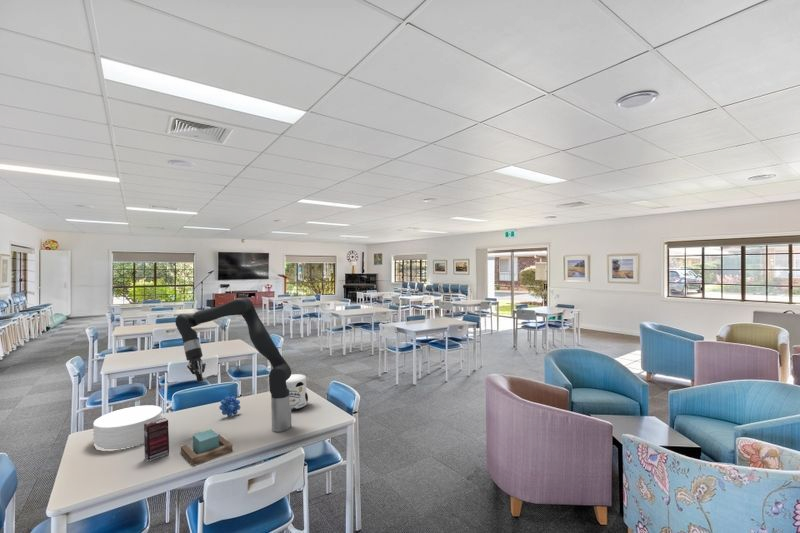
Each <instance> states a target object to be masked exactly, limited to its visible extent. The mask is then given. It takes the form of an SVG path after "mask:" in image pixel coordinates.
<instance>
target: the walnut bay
mask: <svg viewBox="0 0 800 533" xmlns="http://www.w3.org/2000/svg"><path fill="white" fill-rule="evenodd" d="M217 435H219V447H217V448H214V449H212V450H209V451H206V452H203V453H200V454H197V455H196V453H195V452H194V451H193V448H191V447H190V445H188V444H183V445H181V446H180V454H181V455H182V456H183V457H184V459H186V461H187V462H188V463H189V462H190V463H191V464H190V463H189V464H190V465H191V466H192V465H193V466H196V465H199V464H200V463H204V462H207V461H209V460H213V459H215V458H218V457H220V456H224V455H227V454H229V453H231V452H233V444H232V443H231V442H230V441H229V440H227V439H226V438H225V437H223V436H222V435H221V434H219V433H217ZM195 464H196V465H195Z"/></svg>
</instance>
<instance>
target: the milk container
mask: <svg viewBox="0 0 800 533" xmlns="http://www.w3.org/2000/svg"><path fill="white" fill-rule="evenodd" d="M286 388H288V389H289V397H290V409H291V411H296V410H300V409H302V408H304V407H306V405H308V401H309V394H308V392H307V377H306V375H305V374H300V373H299V374H298V373H297V374H295V373H294V374H293V373H292V374H291V376H290V378H289V379H288V380H286Z"/></svg>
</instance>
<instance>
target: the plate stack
mask: <svg viewBox="0 0 800 533" xmlns="http://www.w3.org/2000/svg"><path fill="white" fill-rule="evenodd" d="M162 412H163V408H162V407H161V406H158V405H154V404H153V405H152V404H151V405H145V404H144V405H136V406H135V405H134V406H130V407H124V408H121V409H117V410H114V411H113V410H112V411H111V412H108V413H105V414H103V415H101V416H99V417H98V418H96V419H95V420H94V421H93V423H92V425H93V431H92V432H93V434H92V435H93V445H94V444H96V445H97V446H98V447H101V448H104V449H121V448H127V447H132V446H136V447H138V446H137V445H139V446H141V445H140V444H142V445H144V444H143V443H144V424H145V423H149V422H152V421H156V420H159V419H162V418H163V413H162Z"/></svg>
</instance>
